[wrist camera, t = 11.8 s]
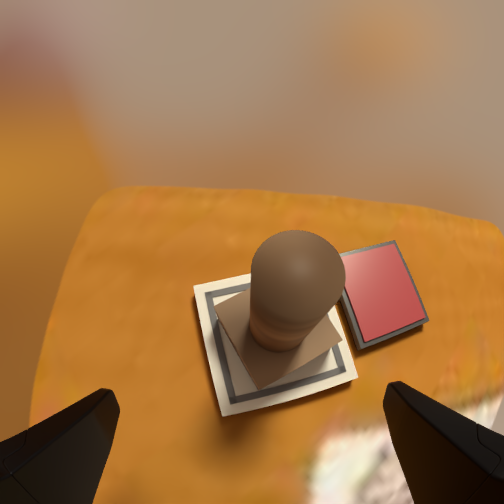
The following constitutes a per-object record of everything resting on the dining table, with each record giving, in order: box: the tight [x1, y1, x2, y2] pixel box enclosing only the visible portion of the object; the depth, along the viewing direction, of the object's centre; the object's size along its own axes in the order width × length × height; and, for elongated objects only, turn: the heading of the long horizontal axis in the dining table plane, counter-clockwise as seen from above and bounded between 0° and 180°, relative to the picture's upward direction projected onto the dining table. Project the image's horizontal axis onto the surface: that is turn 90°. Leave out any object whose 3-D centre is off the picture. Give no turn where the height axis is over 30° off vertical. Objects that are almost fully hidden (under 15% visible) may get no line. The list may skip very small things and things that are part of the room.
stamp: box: [213, 230, 346, 391], centre depth 16 cm, size 6×6×11 cm
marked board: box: [194, 273, 358, 417], centre depth 21 cm, size 10×10×1 cm
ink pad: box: [339, 240, 429, 351], centre depth 23 cm, size 8×7×1 cm
